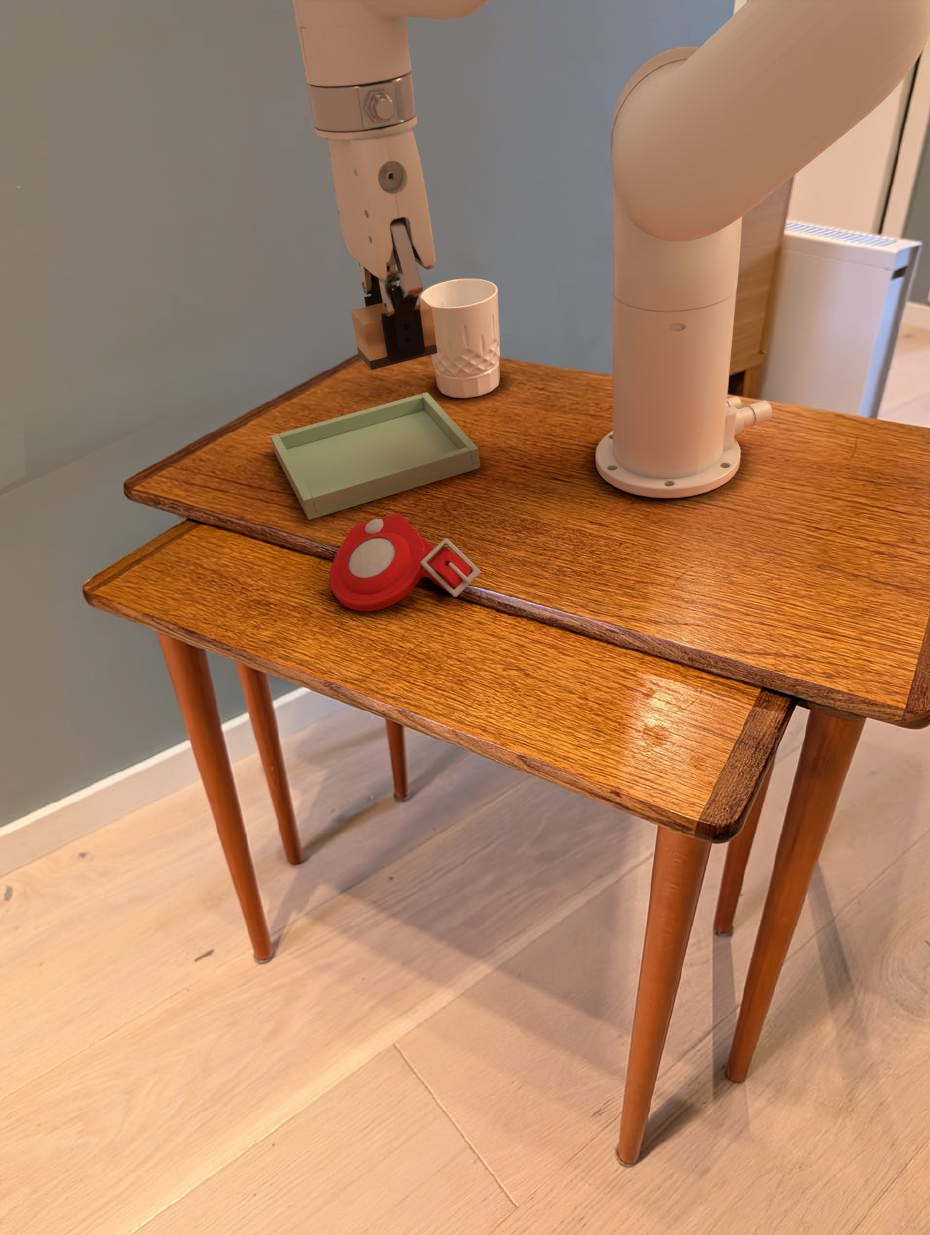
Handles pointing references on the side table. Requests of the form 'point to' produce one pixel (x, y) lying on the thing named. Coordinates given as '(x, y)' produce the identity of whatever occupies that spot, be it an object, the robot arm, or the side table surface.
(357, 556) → the tracker holder
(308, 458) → the tray
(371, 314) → the eraser
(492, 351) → the white cup
